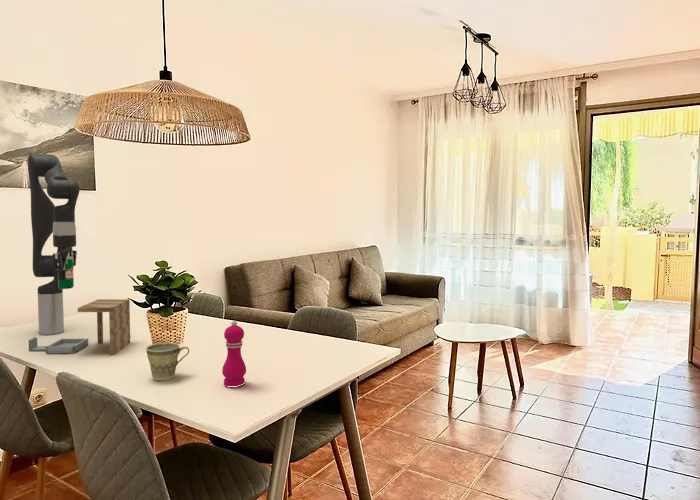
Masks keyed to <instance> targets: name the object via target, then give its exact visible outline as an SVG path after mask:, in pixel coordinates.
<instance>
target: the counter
mask: <svg viewBox="0 0 700 500" xmlns="http://www.w3.org/2000/svg"><path fill="white" fill-rule="evenodd" d="M130 311H131V308H130V299H119V298H118V299H117V298H115V299H113V298H111V299H109V298H107V299H106V298H104V299H103V298H102V299H100V298H99V299H95V300H93V301H91V302H89V303H86V304H84V305H81V306H79V307H77V313H96V323H97V325H96V330H97V334H96V335H97V344H99V345H100V344H103V343H104V326H103V323H104V322H103V321H104V320H103V319H104V316H103V313H108V314H109V315H108V316H109V318H108V319H109V324H108V325H109V355H110V356H115V354H117V353H119V351H121V350H123V348H125V347H127V345H129V344H130V343H131V315H130V314H131V312H130Z"/></svg>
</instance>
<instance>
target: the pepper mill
mask: <svg viewBox="0 0 700 500" xmlns="http://www.w3.org/2000/svg"><path fill="white" fill-rule="evenodd" d="M223 336H224V339H225V347H226V348H227V349H226V350H227V353H226V354H227V355H226V359H225V361H224V363H223V366H222V371H221V372H222V375H223V377H224V379H223V386H224V385H226V386H238V385H241V384H243V383H244V382H245V381H246V379H245V377H244V376H245V374H246V373H247V366H246V363H245V361H244V359H243V356H242V347H243V341H242V340H243V338H244V337H245V331H244V328H243V327H241V326H240V325H238V322H237V320H232V321H231V323H230V326H227V327H226V329H225V330H224V333H223Z"/></svg>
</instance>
